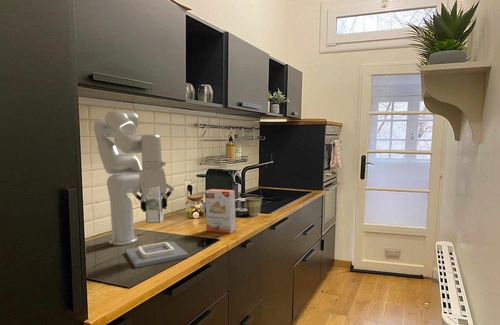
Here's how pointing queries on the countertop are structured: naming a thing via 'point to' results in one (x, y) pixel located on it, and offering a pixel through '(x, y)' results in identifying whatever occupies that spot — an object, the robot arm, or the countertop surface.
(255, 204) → the ceramic cup
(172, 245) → the base board
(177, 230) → the countertop surface
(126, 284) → the countertop surface
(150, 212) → the syrup box
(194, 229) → the countertop surface
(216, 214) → the cracker box
